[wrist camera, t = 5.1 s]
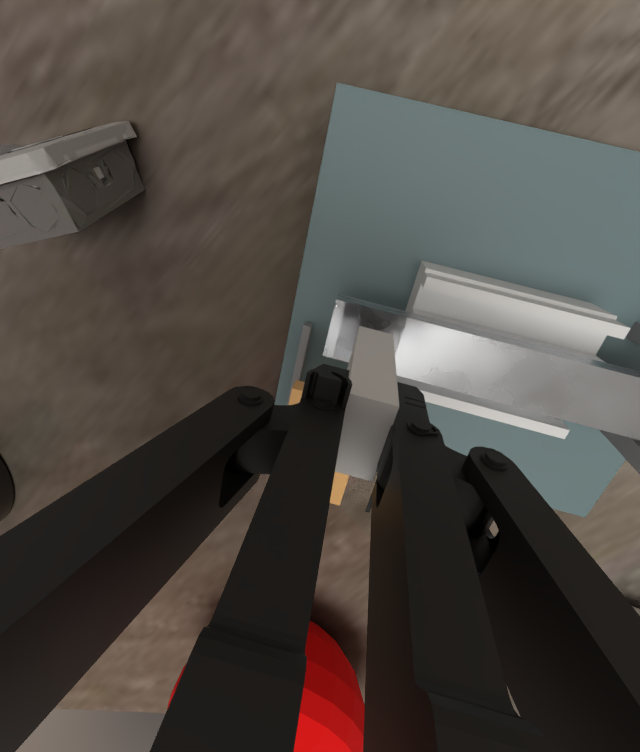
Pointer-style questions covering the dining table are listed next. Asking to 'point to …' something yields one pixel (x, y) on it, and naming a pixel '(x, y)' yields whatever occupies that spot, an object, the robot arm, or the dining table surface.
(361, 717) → the vase
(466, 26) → the dining table surface
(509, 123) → the teal base with bracket
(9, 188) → the electrical switch
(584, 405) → the grey long bar
